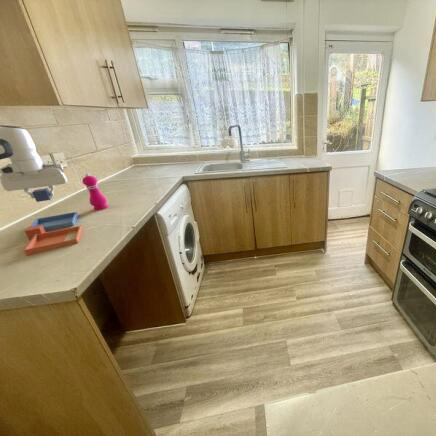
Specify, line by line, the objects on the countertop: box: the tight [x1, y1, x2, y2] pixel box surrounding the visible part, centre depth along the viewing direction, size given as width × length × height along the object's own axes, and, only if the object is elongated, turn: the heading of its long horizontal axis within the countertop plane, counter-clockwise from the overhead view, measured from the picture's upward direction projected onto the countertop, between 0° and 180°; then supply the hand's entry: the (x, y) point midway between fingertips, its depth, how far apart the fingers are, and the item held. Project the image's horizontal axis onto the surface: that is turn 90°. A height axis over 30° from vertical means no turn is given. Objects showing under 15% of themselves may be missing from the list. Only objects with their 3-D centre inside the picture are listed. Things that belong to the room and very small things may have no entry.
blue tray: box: [29, 211, 79, 232], centre depth 115 cm, size 15×15×2 cm
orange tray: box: [23, 225, 83, 257], centre depth 99 cm, size 15×15×2 cm
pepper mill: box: [82, 172, 109, 211], centre depth 130 cm, size 7×7×20 cm
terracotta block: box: [24, 225, 46, 241], centre depth 103 cm, size 4×4×4 cm
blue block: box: [31, 187, 53, 203], centre depth 109 cm, size 4×4×4 cm
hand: (43, 196), depth 109 cm, fingers closed on blue block, 4 cm apart
